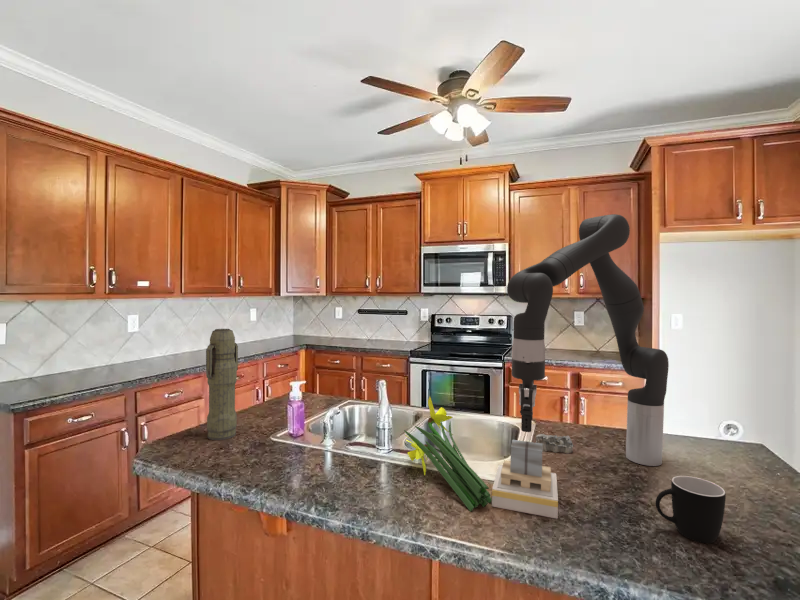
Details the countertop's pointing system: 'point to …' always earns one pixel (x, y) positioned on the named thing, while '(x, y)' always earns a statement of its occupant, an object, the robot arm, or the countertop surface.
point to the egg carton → (555, 443)
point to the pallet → (526, 466)
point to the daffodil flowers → (449, 461)
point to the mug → (695, 507)
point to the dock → (525, 496)
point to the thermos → (222, 384)
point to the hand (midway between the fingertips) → (527, 425)
